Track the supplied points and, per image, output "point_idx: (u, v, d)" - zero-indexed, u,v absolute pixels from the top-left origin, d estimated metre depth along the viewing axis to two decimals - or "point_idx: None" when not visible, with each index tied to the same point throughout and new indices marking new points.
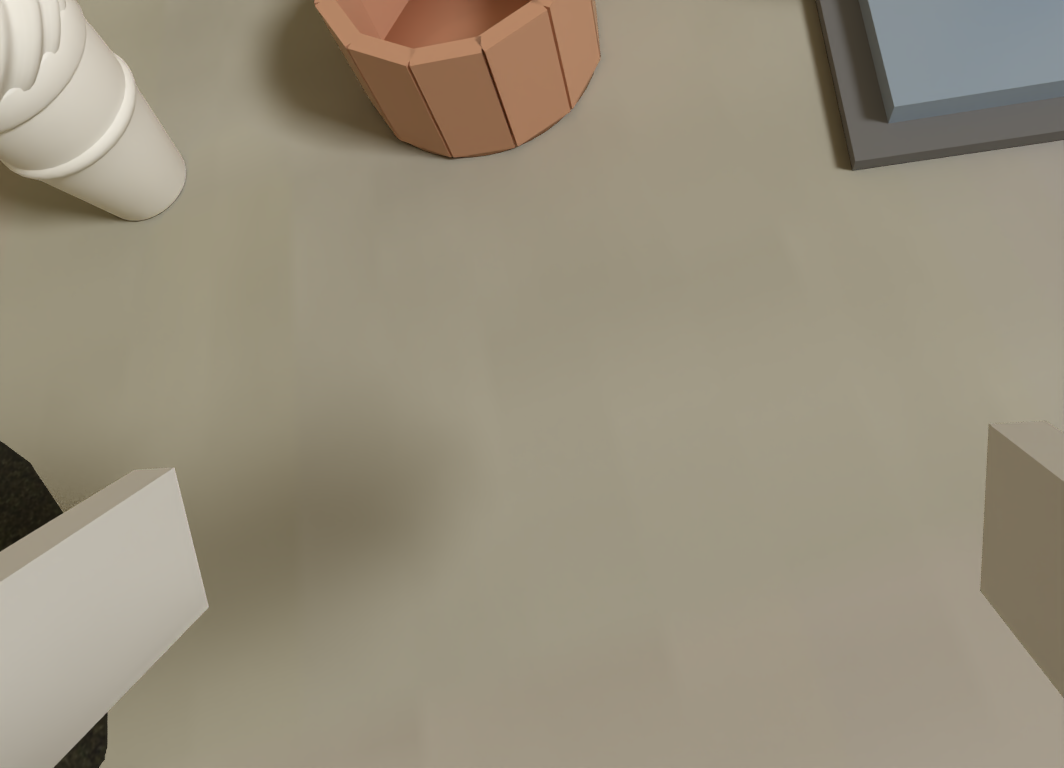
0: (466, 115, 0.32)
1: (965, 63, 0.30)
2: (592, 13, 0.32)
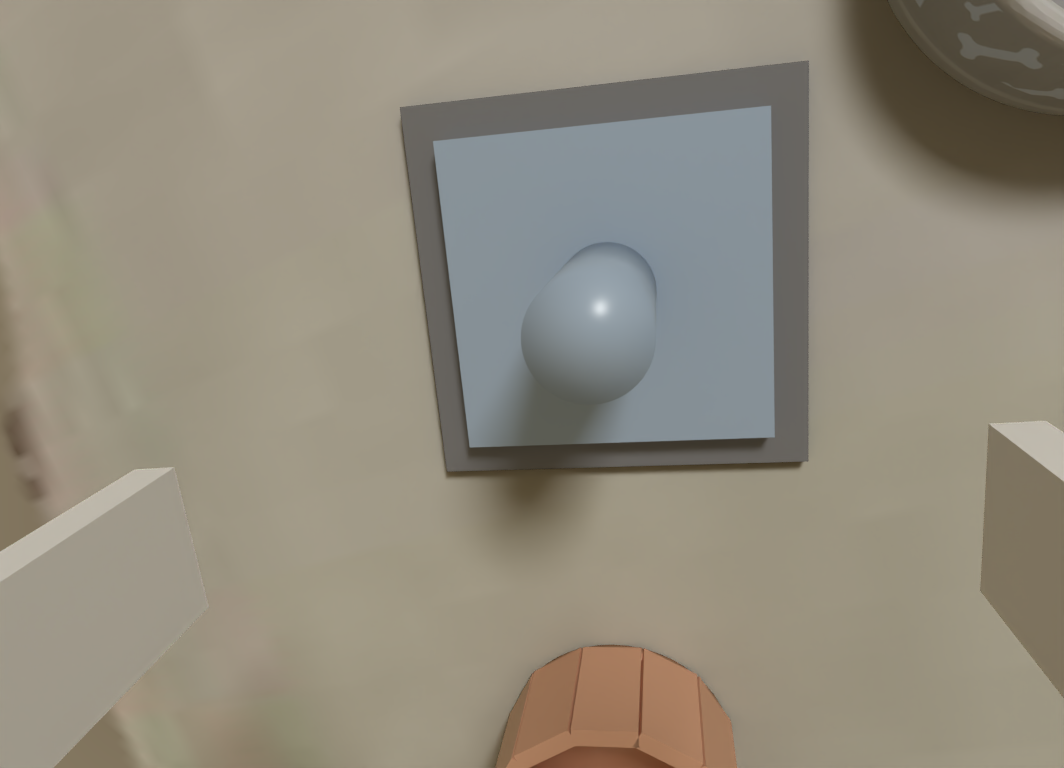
0: None
1: (737, 372, 0.32)
2: (642, 684, 0.35)
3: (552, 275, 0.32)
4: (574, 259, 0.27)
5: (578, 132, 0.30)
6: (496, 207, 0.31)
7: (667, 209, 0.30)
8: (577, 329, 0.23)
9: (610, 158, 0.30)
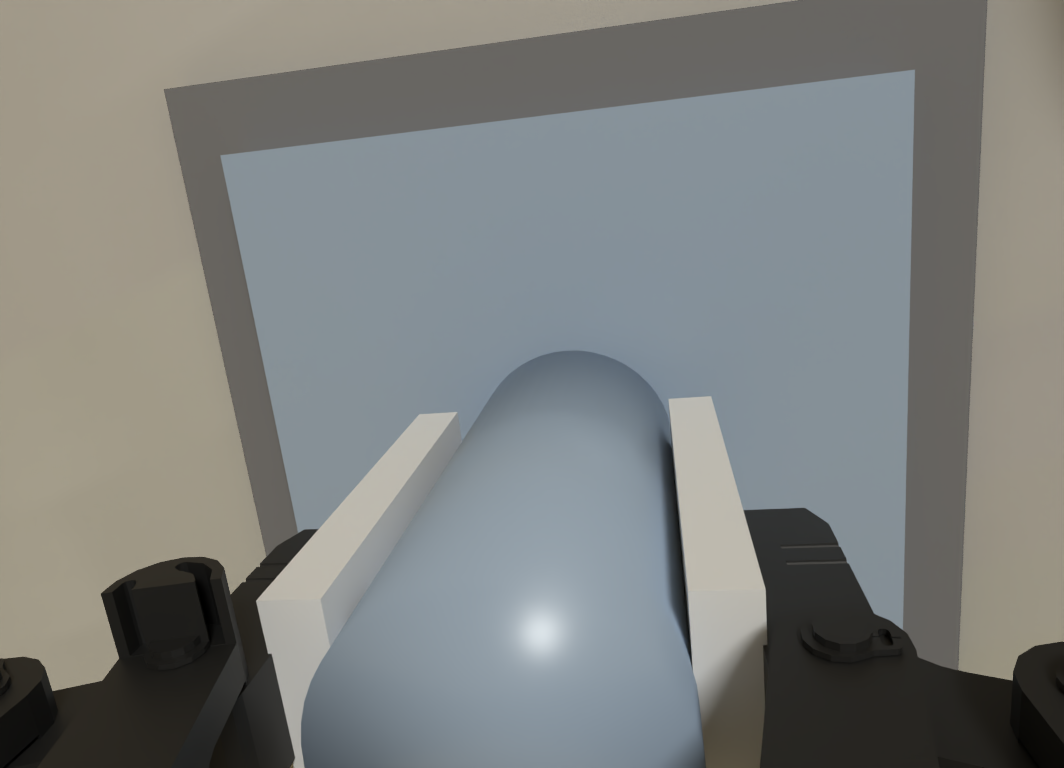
0: None
1: None
2: None
3: (468, 412, 0.16)
4: (492, 427, 0.12)
5: (507, 132, 0.15)
6: (353, 284, 0.16)
7: (693, 287, 0.15)
8: (465, 737, 0.07)
9: (574, 185, 0.15)
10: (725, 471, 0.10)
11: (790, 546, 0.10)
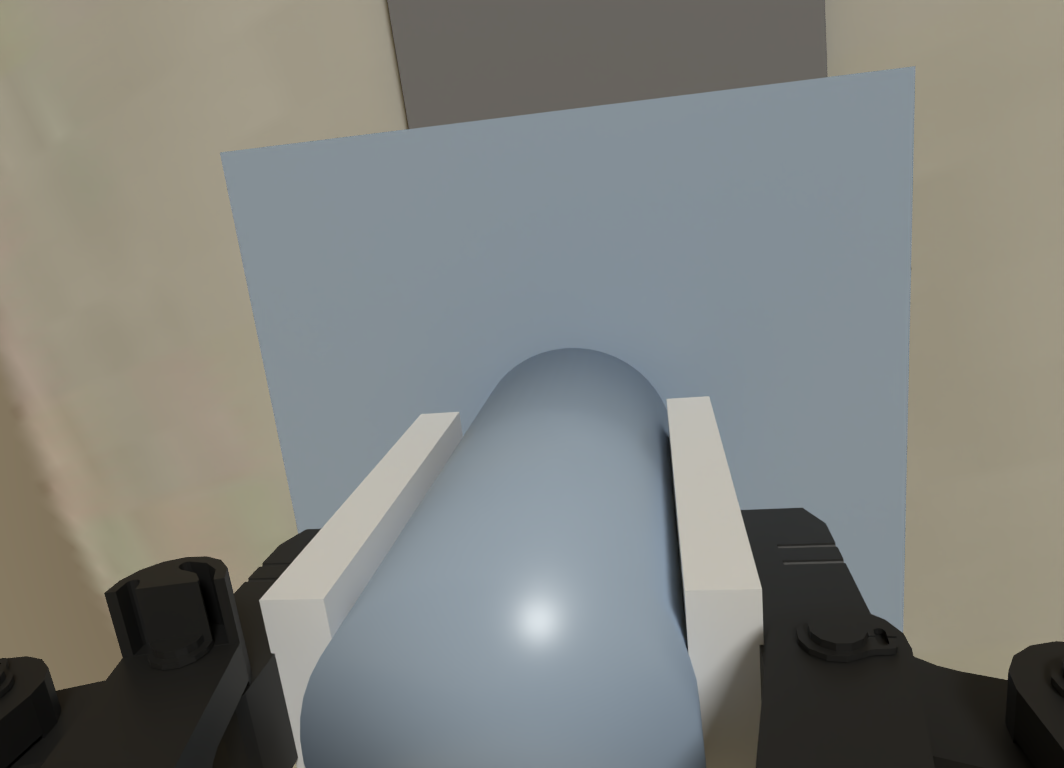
0: None
1: None
2: None
3: (468, 410, 0.16)
4: (491, 423, 0.12)
5: (507, 129, 0.15)
6: (353, 281, 0.16)
7: (693, 285, 0.15)
8: (464, 733, 0.07)
9: (574, 182, 0.15)
10: (722, 471, 0.11)
11: (787, 546, 0.10)
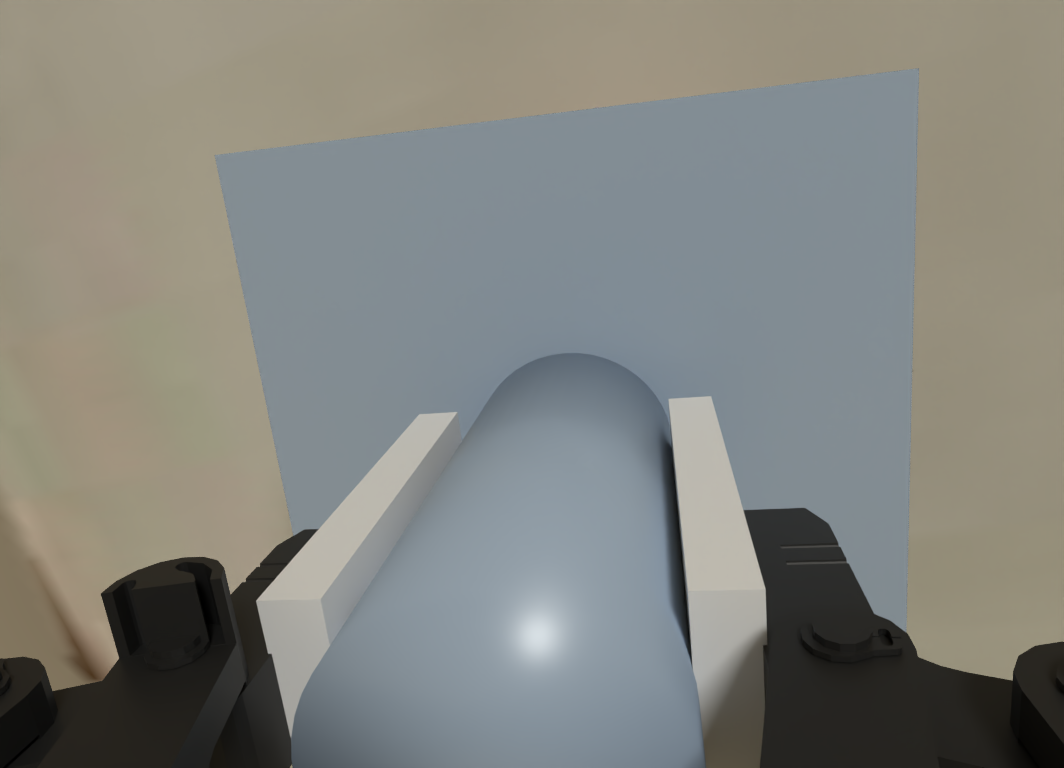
0: None
1: None
2: None
3: (466, 416, 0.16)
4: (489, 431, 0.12)
5: (505, 132, 0.14)
6: (349, 285, 0.16)
7: (693, 289, 0.15)
8: (460, 752, 0.07)
9: (573, 186, 0.14)
10: (725, 471, 0.10)
11: (790, 546, 0.10)
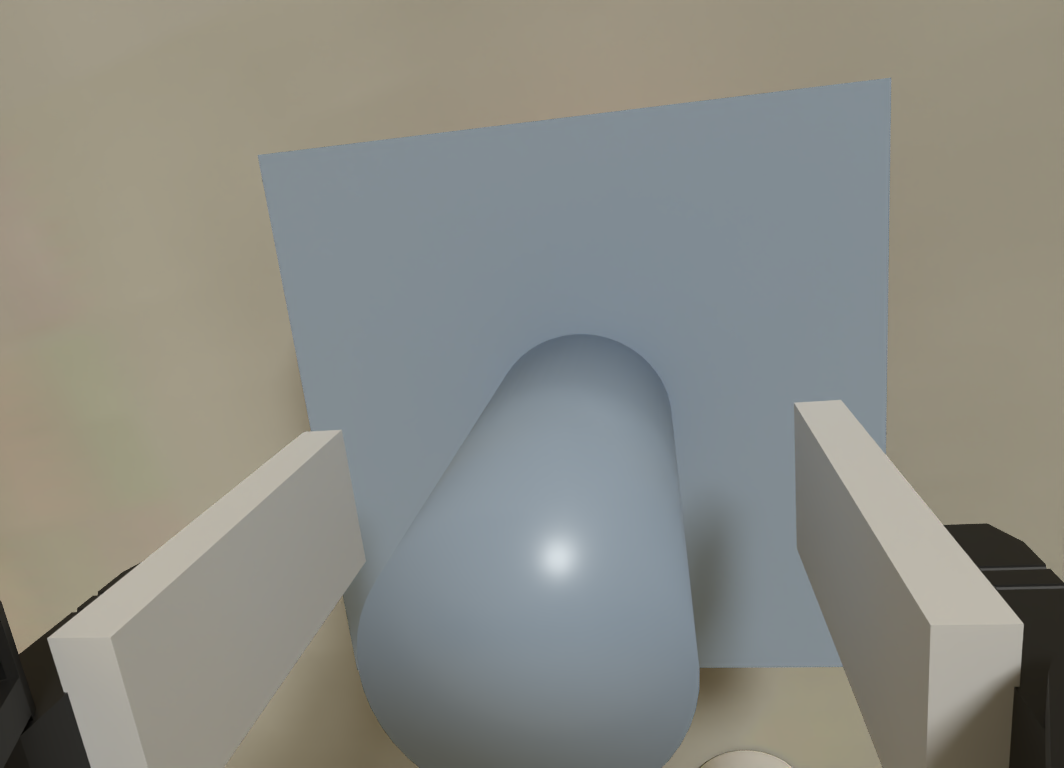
0: None
1: None
2: None
3: (484, 392, 0.18)
4: (510, 398, 0.13)
5: (521, 134, 0.16)
6: (378, 273, 0.17)
7: (690, 276, 0.16)
8: (497, 645, 0.09)
9: (583, 183, 0.16)
10: (901, 483, 0.10)
11: (990, 568, 0.09)
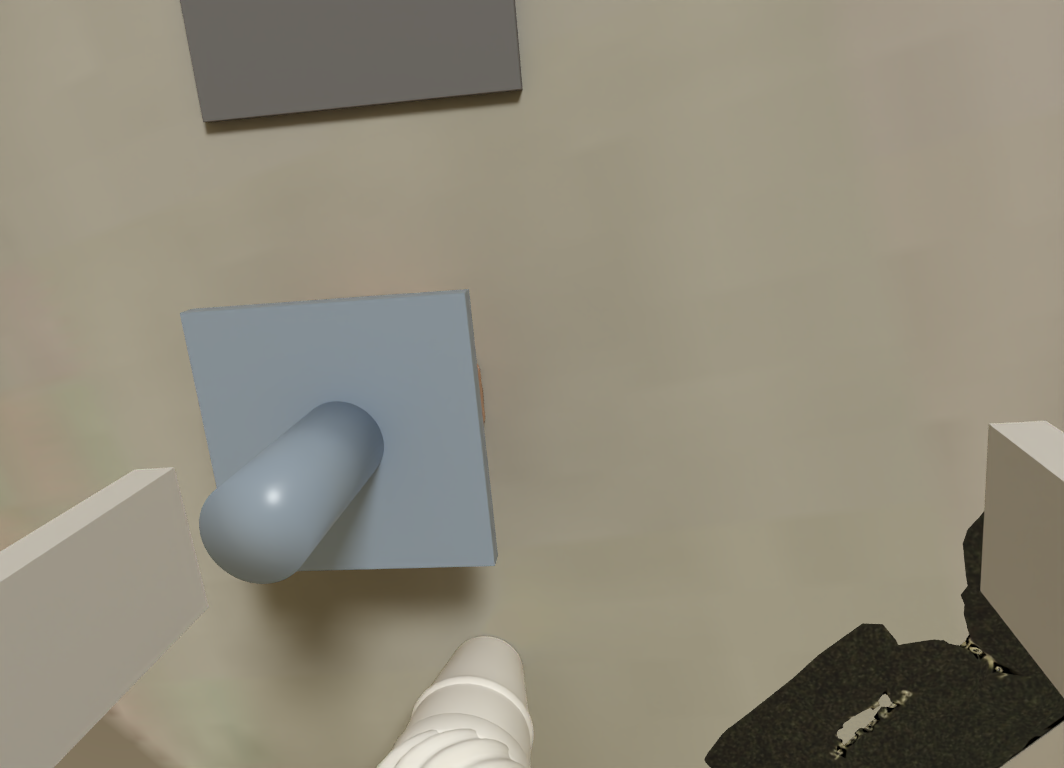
0: None
1: (458, 511, 0.36)
2: None
3: None
4: (282, 436, 0.31)
5: (304, 309, 0.34)
6: (240, 370, 0.35)
7: (386, 375, 0.34)
8: (245, 523, 0.27)
9: (334, 332, 0.34)
10: None
11: None
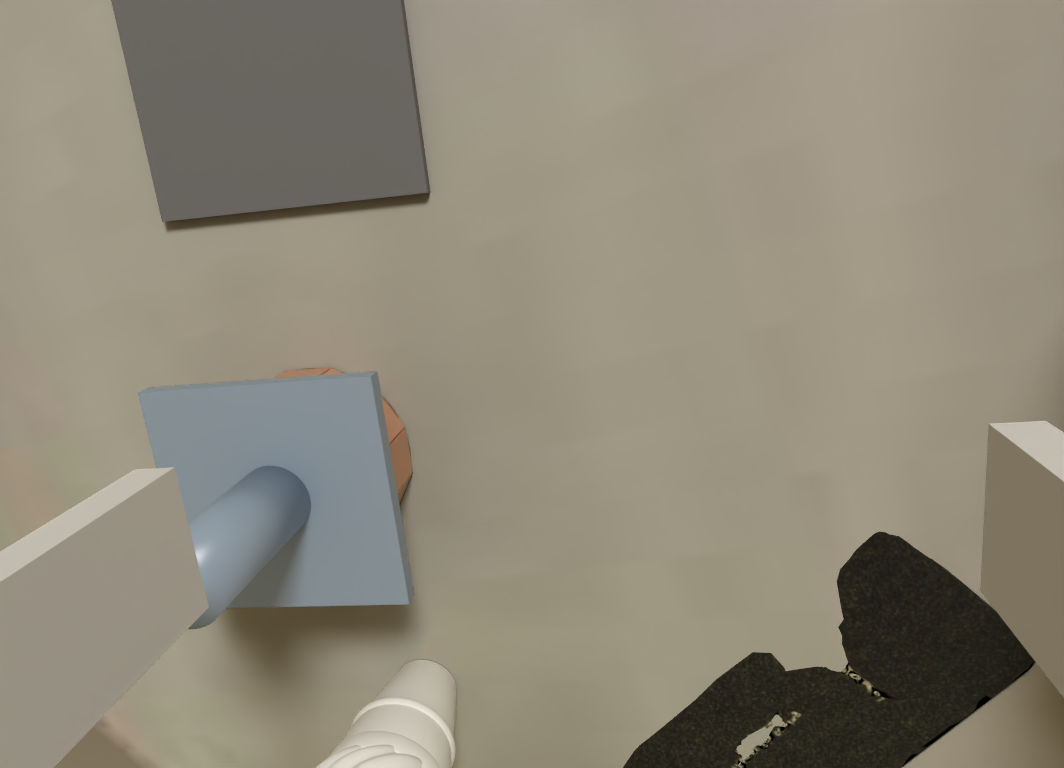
0: (396, 467, 0.45)
1: (375, 558, 0.42)
2: None
3: None
4: (215, 501, 0.37)
5: (239, 389, 0.40)
6: (188, 439, 0.41)
7: (310, 444, 0.41)
8: None
9: (264, 408, 0.40)
10: None
11: None
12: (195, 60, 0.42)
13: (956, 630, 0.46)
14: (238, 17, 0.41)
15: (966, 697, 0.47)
